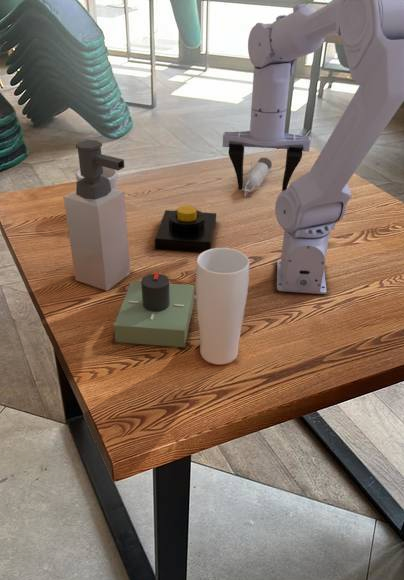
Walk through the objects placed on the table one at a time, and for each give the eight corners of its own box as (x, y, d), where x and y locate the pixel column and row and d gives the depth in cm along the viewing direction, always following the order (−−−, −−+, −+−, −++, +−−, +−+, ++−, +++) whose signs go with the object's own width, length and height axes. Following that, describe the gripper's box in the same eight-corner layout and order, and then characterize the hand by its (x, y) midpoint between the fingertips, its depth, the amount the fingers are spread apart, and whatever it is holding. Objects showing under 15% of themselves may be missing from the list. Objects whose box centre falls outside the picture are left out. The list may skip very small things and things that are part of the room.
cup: (128, 222, 112) (126, 183, 107) (88, 228, 110) (84, 188, 105) (114, 200, 120) (111, 163, 115) (76, 206, 117) (71, 167, 112)
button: (195, 223, 104) (195, 214, 103) (175, 222, 104) (175, 213, 103) (197, 214, 107) (197, 205, 106) (178, 213, 107) (178, 204, 106)
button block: (210, 253, 103) (210, 232, 100) (155, 249, 104) (154, 229, 101) (216, 223, 112) (216, 204, 110) (165, 220, 113) (165, 201, 110)
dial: (167, 312, 83) (166, 287, 80) (140, 310, 83) (138, 285, 80) (171, 297, 86) (171, 272, 83) (145, 295, 86) (143, 270, 83)
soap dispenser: (118, 295, 92) (105, 158, 78) (75, 279, 95) (56, 146, 81) (141, 277, 96) (133, 144, 82) (100, 263, 99) (85, 133, 86)
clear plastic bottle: (255, 168, 135) (257, 140, 131) (275, 171, 134) (277, 143, 130) (233, 197, 122) (235, 167, 118) (255, 201, 121) (257, 170, 117)
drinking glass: (240, 339, 83) (247, 247, 74) (245, 369, 78) (253, 274, 68) (194, 340, 83) (195, 247, 73) (195, 370, 78) (196, 274, 68)
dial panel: (184, 347, 81) (184, 329, 79) (115, 342, 82) (113, 324, 80) (194, 301, 91) (194, 284, 89) (132, 296, 91) (131, 279, 89)
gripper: (313, 103, 95) (303, 182, 104) (226, 99, 96) (223, 177, 105) (314, 115, 90) (303, 198, 98) (222, 111, 91) (219, 193, 99)
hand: (262, 189), depth 101 cm, fingers open, 7 cm apart
